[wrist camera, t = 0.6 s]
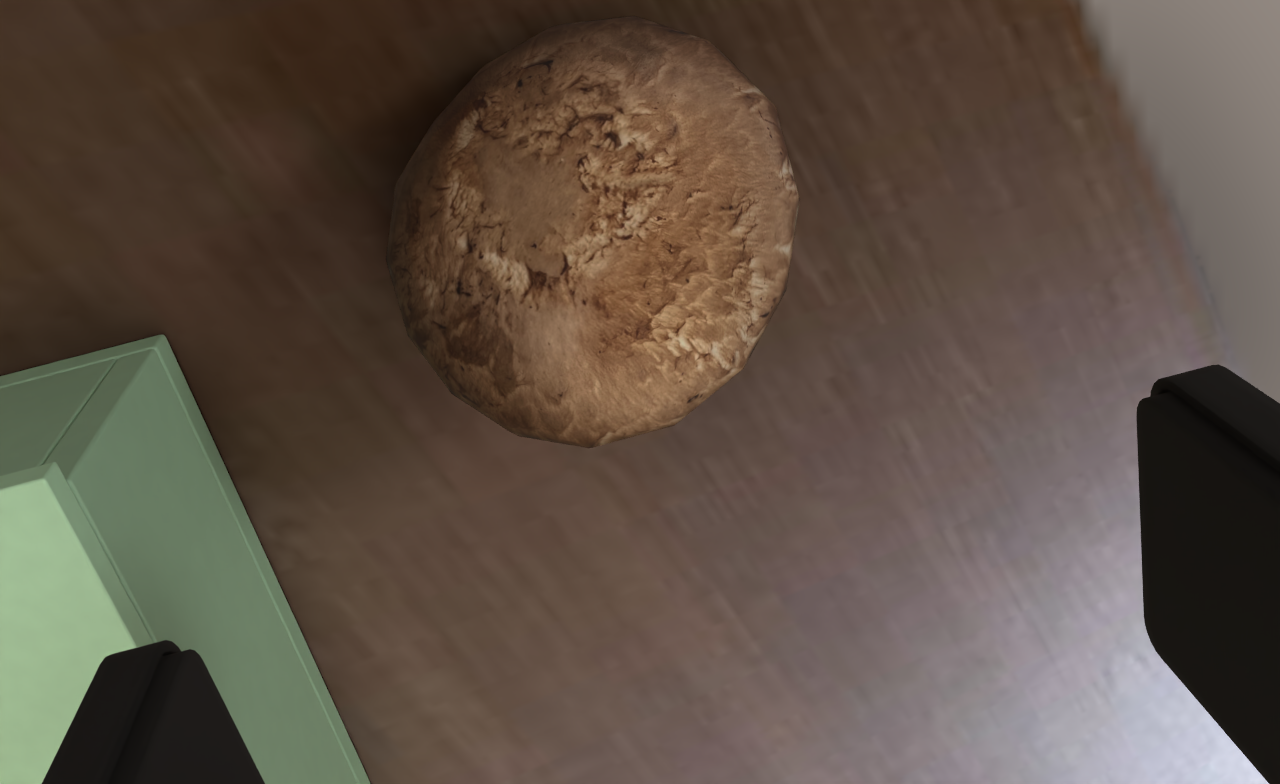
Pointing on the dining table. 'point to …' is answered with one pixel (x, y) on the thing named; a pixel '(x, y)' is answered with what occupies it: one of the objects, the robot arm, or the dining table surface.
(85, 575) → the green flat panel
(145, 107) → the dining table surface
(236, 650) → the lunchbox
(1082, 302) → the dining table surface
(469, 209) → the mushroom
